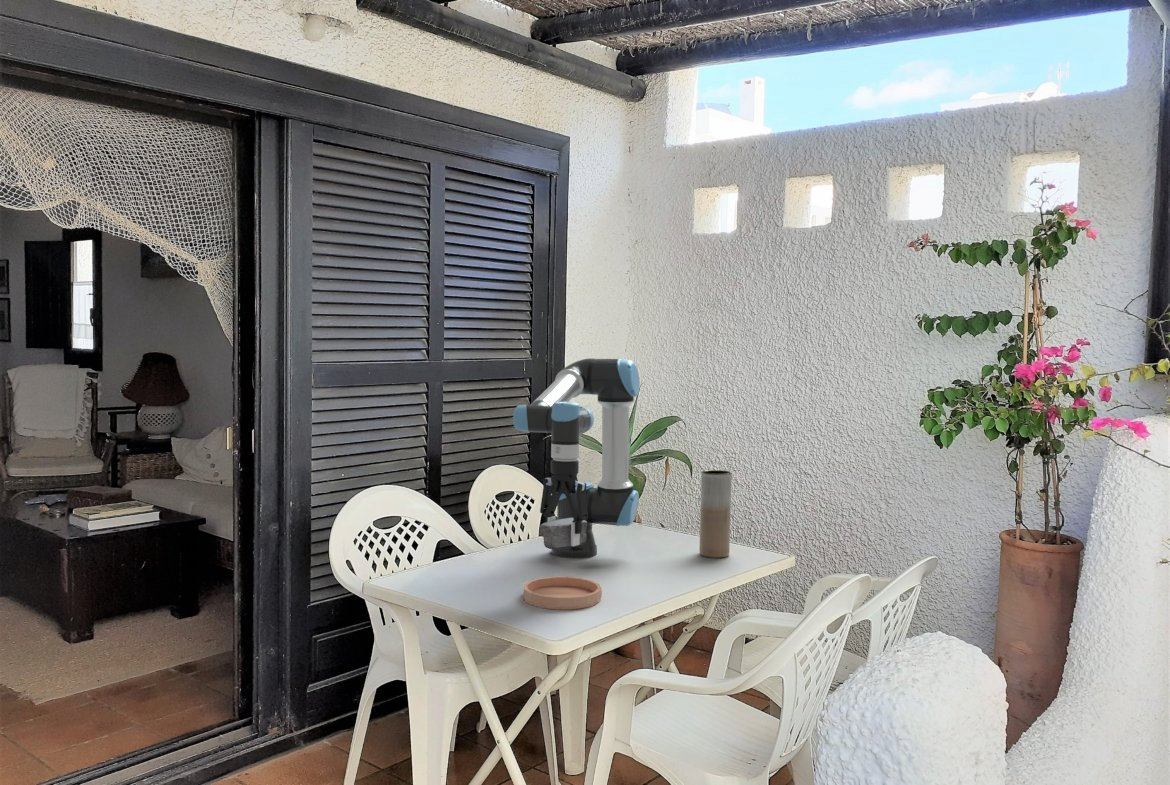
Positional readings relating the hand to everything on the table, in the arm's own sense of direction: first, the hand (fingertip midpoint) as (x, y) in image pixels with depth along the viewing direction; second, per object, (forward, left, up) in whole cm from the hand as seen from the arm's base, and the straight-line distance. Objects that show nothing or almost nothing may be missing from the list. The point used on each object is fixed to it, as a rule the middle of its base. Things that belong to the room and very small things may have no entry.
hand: (563, 542), depth 240 cm
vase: (+4, +73, -15) cm, 75 cm away
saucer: (0, 0, -15) cm, 15 cm away
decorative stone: (0, +1, -1) cm, 1 cm away
